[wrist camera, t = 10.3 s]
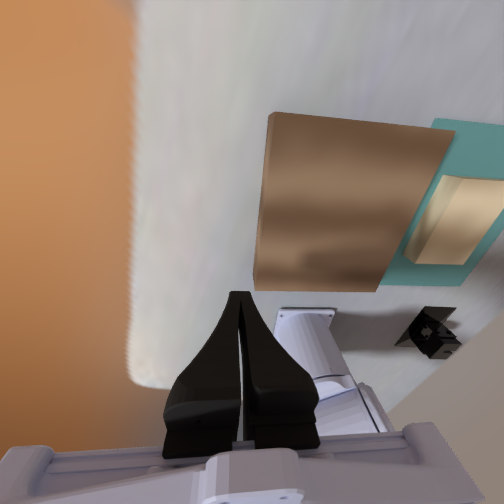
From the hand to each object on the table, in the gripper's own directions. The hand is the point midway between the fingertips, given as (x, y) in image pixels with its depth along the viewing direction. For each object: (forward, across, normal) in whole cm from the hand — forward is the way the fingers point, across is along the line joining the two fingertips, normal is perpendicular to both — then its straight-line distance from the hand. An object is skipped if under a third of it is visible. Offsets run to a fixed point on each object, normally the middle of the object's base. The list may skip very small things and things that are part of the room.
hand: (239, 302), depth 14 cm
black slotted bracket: (+10, -30, +15) cm, 35 cm away
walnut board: (+9, -9, -4) cm, 13 cm away
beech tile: (+7, -23, -4) cm, 24 cm away
